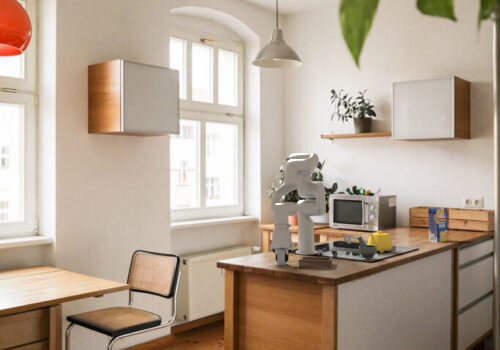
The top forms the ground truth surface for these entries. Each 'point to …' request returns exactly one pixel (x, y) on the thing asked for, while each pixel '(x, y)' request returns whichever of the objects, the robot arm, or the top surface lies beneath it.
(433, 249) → the top surface
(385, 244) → the teapot
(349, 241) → the bracket
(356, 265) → the top surface
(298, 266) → the brown wooden base plate
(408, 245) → the top surface
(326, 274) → the top surface
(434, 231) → the blue food box
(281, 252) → the bracket block
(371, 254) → the mortar and pestle
